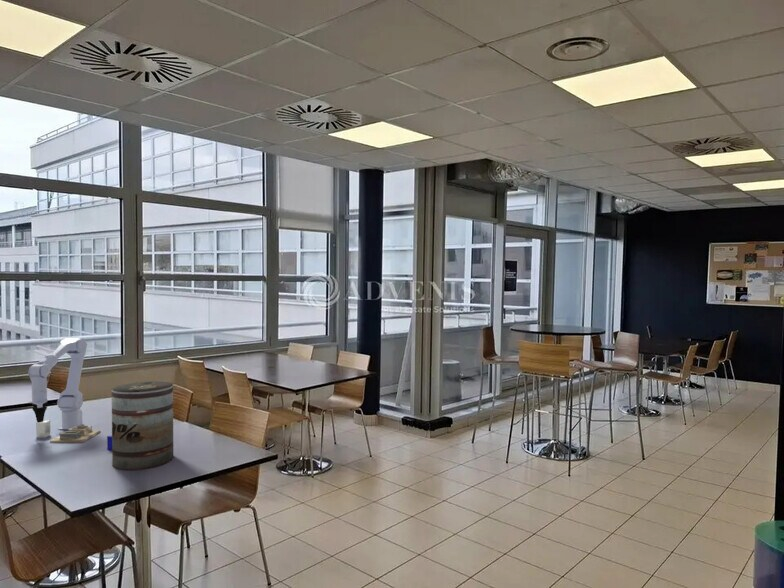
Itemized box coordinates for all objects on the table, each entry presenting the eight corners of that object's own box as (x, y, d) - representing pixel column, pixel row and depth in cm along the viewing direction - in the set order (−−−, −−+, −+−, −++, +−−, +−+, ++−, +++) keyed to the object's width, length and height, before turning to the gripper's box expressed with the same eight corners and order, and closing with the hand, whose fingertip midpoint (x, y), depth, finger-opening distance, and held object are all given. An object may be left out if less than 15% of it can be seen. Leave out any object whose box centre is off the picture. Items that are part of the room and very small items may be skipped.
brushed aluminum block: (41, 435, 252) (41, 420, 252) (50, 435, 252) (50, 420, 252) (36, 437, 248) (36, 422, 248) (45, 437, 248) (44, 422, 248)
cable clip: (126, 441, 243) (126, 428, 243) (134, 442, 241) (134, 429, 241) (104, 449, 232) (104, 435, 231) (112, 450, 230) (112, 436, 230)
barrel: (108, 458, 220) (107, 385, 219) (166, 448, 233) (165, 379, 232) (116, 474, 201) (116, 394, 201) (179, 462, 214) (179, 388, 214)
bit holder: (70, 432, 257) (70, 425, 256) (100, 432, 257) (100, 425, 257) (50, 442, 241) (49, 434, 241) (81, 442, 241) (81, 434, 241)
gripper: (28, 388, 248) (29, 418, 249) (28, 394, 236) (29, 425, 237) (46, 387, 252) (47, 415, 253) (47, 392, 240) (48, 422, 241)
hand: (39, 420), depth 245 cm, fingers open, 7 cm apart
